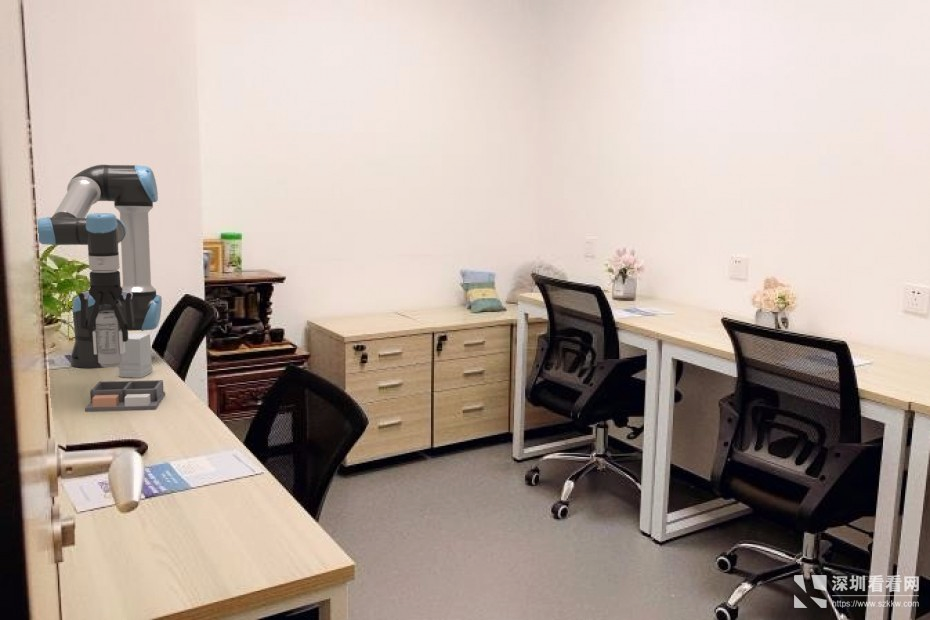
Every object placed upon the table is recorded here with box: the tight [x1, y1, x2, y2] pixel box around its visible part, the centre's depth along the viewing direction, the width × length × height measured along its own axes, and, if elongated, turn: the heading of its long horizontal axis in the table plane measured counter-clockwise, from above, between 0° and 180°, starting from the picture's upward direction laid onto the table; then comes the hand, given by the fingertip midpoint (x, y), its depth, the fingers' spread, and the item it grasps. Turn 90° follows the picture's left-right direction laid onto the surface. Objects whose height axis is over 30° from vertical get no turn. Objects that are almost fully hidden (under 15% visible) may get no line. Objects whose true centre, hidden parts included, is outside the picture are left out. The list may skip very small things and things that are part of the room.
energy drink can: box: [96, 310, 122, 368], centre depth 212 cm, size 6×6×15 cm
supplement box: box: [118, 332, 153, 379], centre depth 241 cm, size 7×7×13 cm
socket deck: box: [84, 379, 166, 412], centre depth 214 cm, size 13×18×4 cm
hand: (109, 352), depth 213 cm, fingers closed on energy drink can, 6 cm apart
